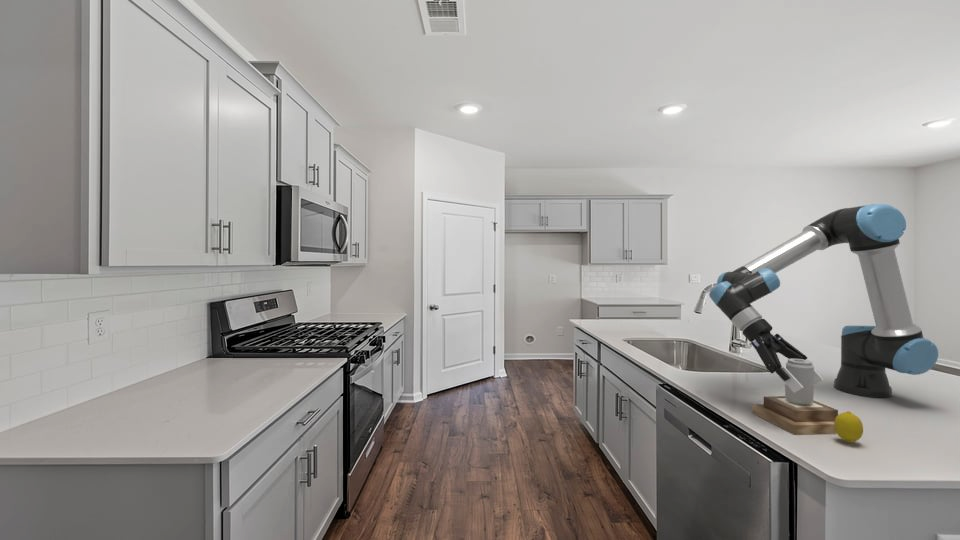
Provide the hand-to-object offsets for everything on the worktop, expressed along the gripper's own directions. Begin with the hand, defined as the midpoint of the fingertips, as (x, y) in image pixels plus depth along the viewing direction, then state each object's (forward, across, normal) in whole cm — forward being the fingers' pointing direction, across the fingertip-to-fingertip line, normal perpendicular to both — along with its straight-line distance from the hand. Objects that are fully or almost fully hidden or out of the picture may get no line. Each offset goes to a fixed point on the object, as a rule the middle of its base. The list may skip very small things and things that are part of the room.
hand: (809, 386), depth 120 cm
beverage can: (+2, 0, -6) cm, 6 cm away
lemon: (+15, +5, -1) cm, 16 cm away
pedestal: (+6, 0, -9) cm, 11 cm away
